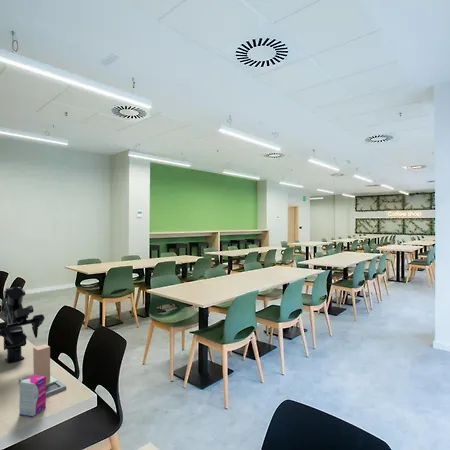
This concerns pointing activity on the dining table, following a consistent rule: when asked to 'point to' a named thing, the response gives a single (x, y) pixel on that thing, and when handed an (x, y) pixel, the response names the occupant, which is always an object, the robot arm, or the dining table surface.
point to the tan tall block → (42, 361)
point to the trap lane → (51, 385)
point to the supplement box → (32, 395)
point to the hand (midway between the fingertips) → (24, 340)
